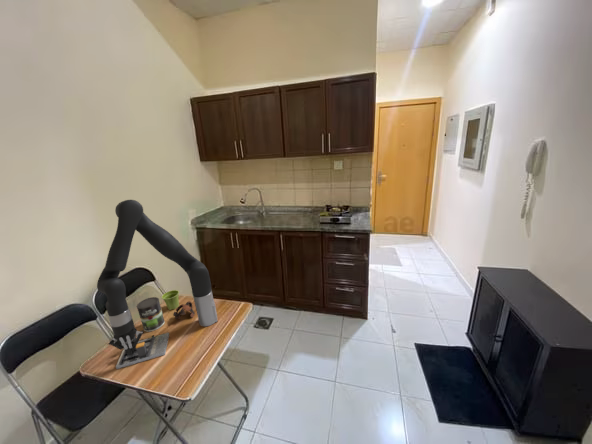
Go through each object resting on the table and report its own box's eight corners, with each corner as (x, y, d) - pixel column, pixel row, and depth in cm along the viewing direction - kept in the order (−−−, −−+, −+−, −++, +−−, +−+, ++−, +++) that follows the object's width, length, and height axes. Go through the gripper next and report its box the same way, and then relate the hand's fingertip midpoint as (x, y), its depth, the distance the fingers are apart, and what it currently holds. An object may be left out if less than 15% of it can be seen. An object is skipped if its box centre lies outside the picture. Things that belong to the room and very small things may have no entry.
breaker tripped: (147, 351, 112) (144, 341, 111) (146, 355, 110) (143, 345, 109) (140, 353, 111) (136, 343, 110) (138, 357, 109) (135, 347, 108)
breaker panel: (169, 335, 124) (168, 330, 123) (165, 354, 112) (163, 350, 111) (126, 347, 119) (124, 342, 118) (116, 369, 106) (114, 364, 105)
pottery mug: (192, 322, 133) (180, 313, 130) (180, 327, 136) (168, 319, 133) (200, 304, 144) (189, 295, 140) (188, 310, 147) (178, 301, 143)
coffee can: (165, 326, 131) (158, 303, 127) (142, 334, 126) (135, 311, 123) (165, 316, 140) (159, 294, 136) (144, 323, 135) (137, 301, 132)
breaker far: (137, 342, 118) (134, 333, 117) (136, 345, 116) (133, 336, 115) (130, 344, 118) (127, 335, 116) (129, 347, 116) (125, 338, 114)
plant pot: (185, 304, 150) (182, 292, 147) (170, 313, 142) (167, 300, 140) (176, 300, 154) (173, 288, 152) (161, 309, 147) (158, 296, 145)
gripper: (141, 311, 110) (150, 343, 114) (106, 319, 106) (117, 352, 110) (136, 321, 103) (146, 355, 107) (99, 330, 99) (111, 365, 103)
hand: (131, 353), depth 109 cm, fingers closed
